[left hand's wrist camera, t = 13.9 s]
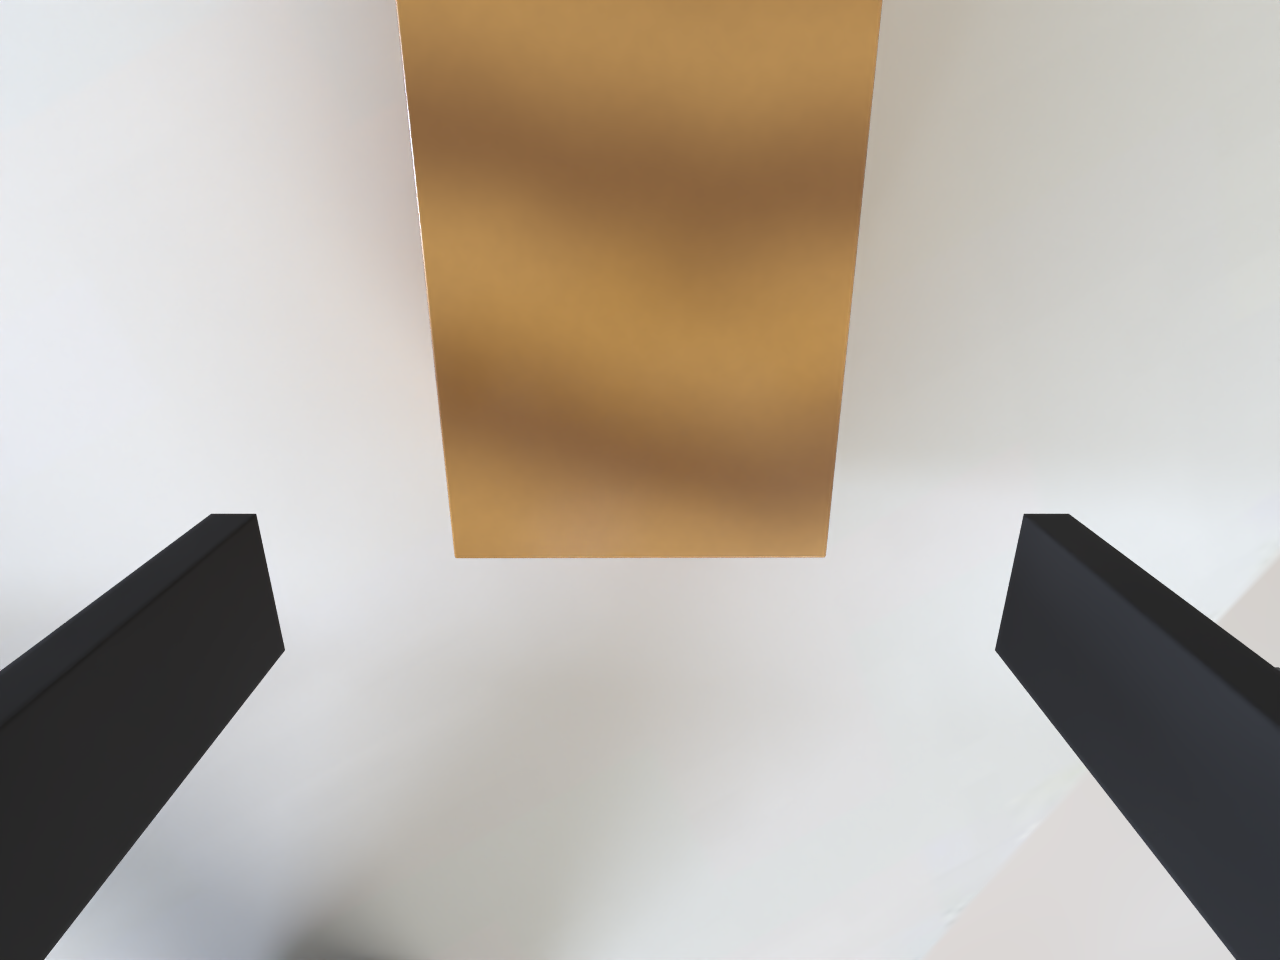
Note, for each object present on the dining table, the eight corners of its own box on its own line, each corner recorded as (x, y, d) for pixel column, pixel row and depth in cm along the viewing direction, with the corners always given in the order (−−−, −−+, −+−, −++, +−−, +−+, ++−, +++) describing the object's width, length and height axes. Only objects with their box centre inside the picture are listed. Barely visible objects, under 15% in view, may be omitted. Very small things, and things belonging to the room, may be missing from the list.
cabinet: (462, -205, 23) (343, -473, 14) (814, -206, 23) (932, -474, 14) (509, 451, 31) (454, 559, 21) (770, 450, 31) (826, 558, 21)
